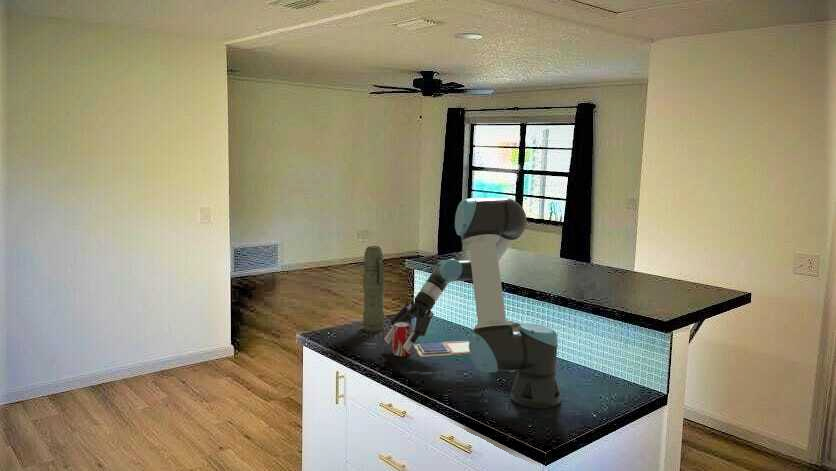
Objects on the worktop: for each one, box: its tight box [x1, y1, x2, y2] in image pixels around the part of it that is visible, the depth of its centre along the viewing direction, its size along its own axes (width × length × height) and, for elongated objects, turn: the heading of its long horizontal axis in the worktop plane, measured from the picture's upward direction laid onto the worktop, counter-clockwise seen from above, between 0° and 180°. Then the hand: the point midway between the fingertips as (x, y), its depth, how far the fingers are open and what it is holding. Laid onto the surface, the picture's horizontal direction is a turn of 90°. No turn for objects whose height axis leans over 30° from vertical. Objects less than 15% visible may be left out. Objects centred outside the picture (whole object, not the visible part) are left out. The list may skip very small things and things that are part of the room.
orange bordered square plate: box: [442, 340, 470, 355], centre depth 240 cm, size 13×13×1 cm
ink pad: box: [417, 341, 450, 355], centre depth 237 cm, size 10×10×1 cm
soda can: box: [391, 321, 413, 357], centre depth 232 cm, size 7×7×12 cm
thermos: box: [362, 245, 385, 333], centre depth 262 cm, size 9×12×35 cm
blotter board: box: [412, 343, 470, 358], centre depth 239 cm, size 14×26×1 cm, turn 102°
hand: (395, 345), depth 230 cm, fingers open, 10 cm apart
